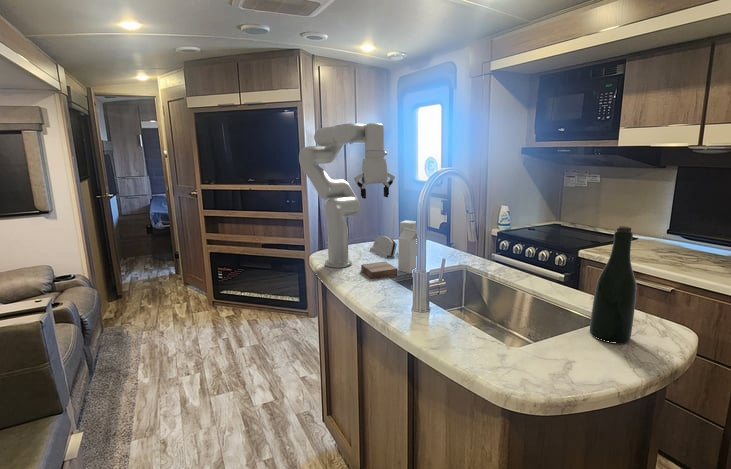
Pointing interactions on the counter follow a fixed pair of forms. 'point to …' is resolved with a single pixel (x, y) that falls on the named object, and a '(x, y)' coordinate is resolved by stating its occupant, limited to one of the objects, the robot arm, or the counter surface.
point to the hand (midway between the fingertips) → (375, 197)
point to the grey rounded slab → (384, 246)
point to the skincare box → (407, 225)
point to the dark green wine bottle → (615, 293)
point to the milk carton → (407, 250)
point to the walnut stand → (379, 270)
